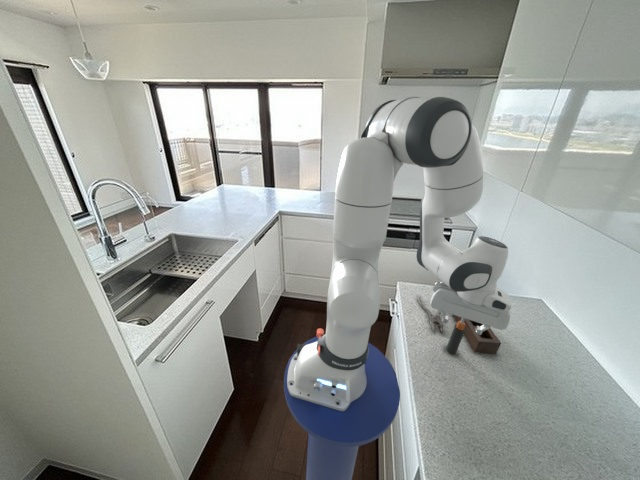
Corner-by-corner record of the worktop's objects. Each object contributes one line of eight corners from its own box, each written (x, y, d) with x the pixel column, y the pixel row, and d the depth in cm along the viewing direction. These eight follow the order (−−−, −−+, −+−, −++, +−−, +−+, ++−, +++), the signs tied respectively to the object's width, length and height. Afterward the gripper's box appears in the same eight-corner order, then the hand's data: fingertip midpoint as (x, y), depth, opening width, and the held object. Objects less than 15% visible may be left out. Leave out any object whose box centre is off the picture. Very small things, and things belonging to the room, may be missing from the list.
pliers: (439, 296, 107) (461, 332, 89) (438, 298, 108) (461, 334, 90) (416, 295, 107) (434, 330, 89) (415, 296, 108) (433, 332, 90)
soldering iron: (448, 354, 82) (461, 318, 75) (444, 346, 85) (457, 311, 78) (457, 355, 82) (472, 319, 75) (453, 347, 85) (467, 312, 78)
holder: (474, 352, 83) (479, 341, 81) (452, 314, 99) (456, 304, 97) (495, 354, 83) (501, 343, 81) (470, 316, 99) (474, 306, 97)
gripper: (434, 285, 74) (424, 321, 80) (518, 309, 66) (499, 347, 72) (436, 274, 79) (426, 309, 85) (514, 295, 71) (497, 332, 77)
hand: (460, 327), depth 79 cm, fingers open, 8 cm apart
